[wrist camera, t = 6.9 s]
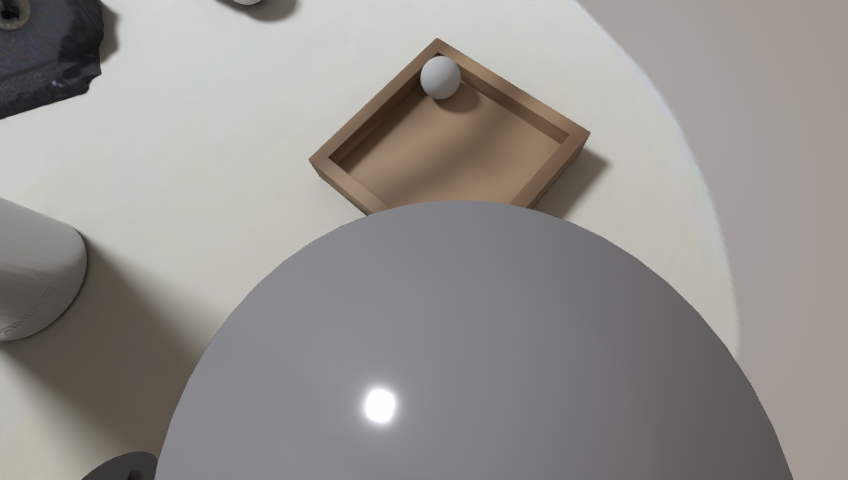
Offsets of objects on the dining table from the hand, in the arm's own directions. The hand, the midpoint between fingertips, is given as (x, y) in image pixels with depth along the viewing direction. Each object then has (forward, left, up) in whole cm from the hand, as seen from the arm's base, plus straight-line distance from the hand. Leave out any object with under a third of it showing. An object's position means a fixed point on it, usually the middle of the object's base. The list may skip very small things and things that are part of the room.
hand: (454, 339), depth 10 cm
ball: (-14, +15, -13) cm, 24 cm away
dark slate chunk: (-51, -8, -17) cm, 54 cm away
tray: (-10, +11, -16) cm, 21 cm away
